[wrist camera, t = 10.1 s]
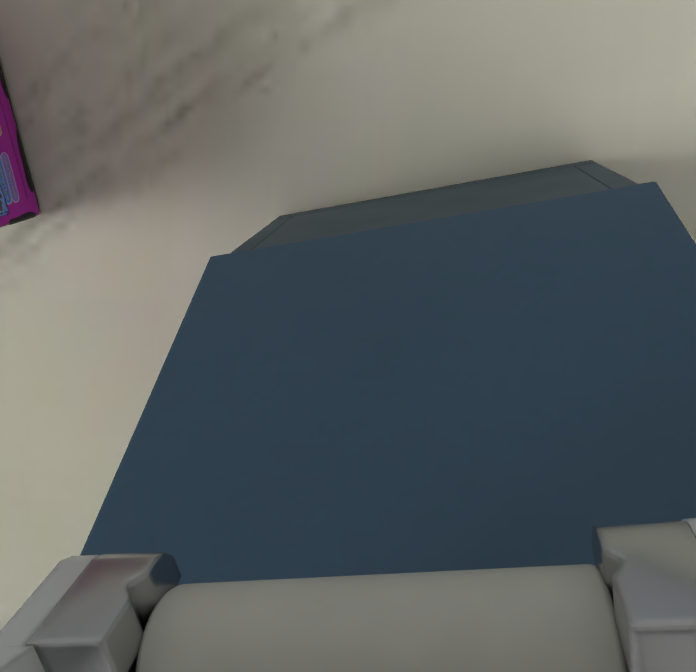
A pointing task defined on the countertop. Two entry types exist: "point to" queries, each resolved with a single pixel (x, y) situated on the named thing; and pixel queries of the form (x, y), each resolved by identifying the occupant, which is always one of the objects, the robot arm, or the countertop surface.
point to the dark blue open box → (438, 203)
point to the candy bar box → (13, 170)
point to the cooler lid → (416, 442)
